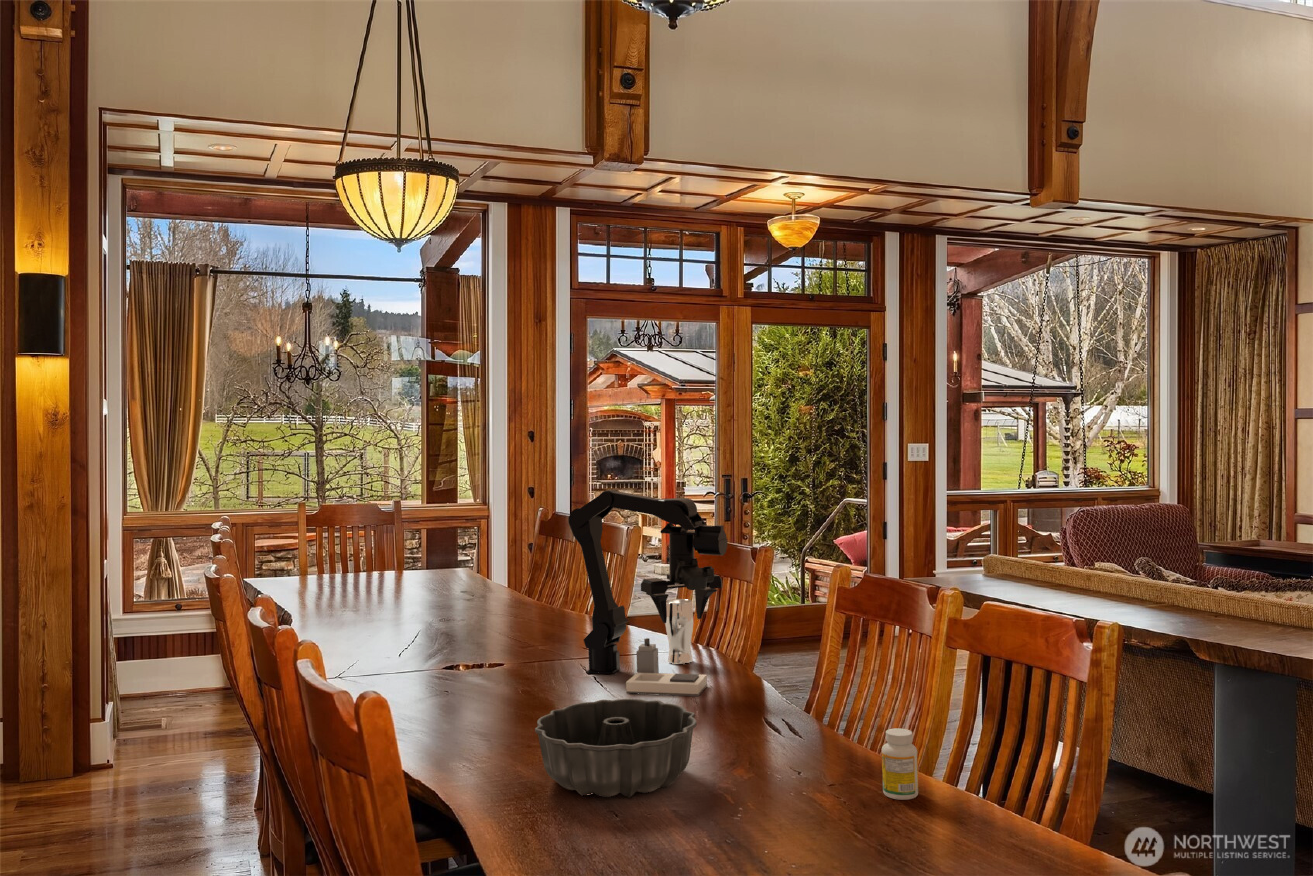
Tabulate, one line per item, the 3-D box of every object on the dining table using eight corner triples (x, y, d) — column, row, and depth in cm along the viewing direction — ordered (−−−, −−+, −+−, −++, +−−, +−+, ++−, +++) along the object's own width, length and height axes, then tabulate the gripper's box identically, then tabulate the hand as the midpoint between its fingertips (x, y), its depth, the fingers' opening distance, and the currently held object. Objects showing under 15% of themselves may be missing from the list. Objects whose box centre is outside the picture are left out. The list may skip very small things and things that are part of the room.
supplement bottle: (908, 803, 154) (906, 739, 154) (876, 796, 157) (874, 733, 157) (924, 793, 158) (922, 730, 158) (892, 786, 162) (891, 725, 162)
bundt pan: (686, 813, 153) (683, 746, 153) (515, 807, 158) (513, 742, 158) (708, 757, 179) (706, 699, 179) (561, 753, 184) (559, 697, 184)
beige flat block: (626, 693, 224) (625, 680, 224) (637, 683, 233) (637, 670, 233) (698, 696, 220) (697, 682, 220) (707, 686, 228) (706, 672, 228)
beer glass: (692, 665, 249) (690, 603, 249) (663, 665, 250) (661, 603, 250) (696, 659, 256) (694, 598, 256) (669, 658, 257) (667, 598, 257)
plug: (637, 682, 234) (636, 640, 234) (642, 678, 238) (640, 637, 238) (654, 682, 233) (653, 640, 233) (658, 678, 237) (657, 637, 237)
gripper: (662, 560, 225) (663, 631, 226) (734, 554, 234) (735, 623, 234) (639, 554, 235) (639, 622, 235) (709, 549, 244) (709, 615, 244)
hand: (682, 621), depth 237 cm, fingers open, 9 cm apart
